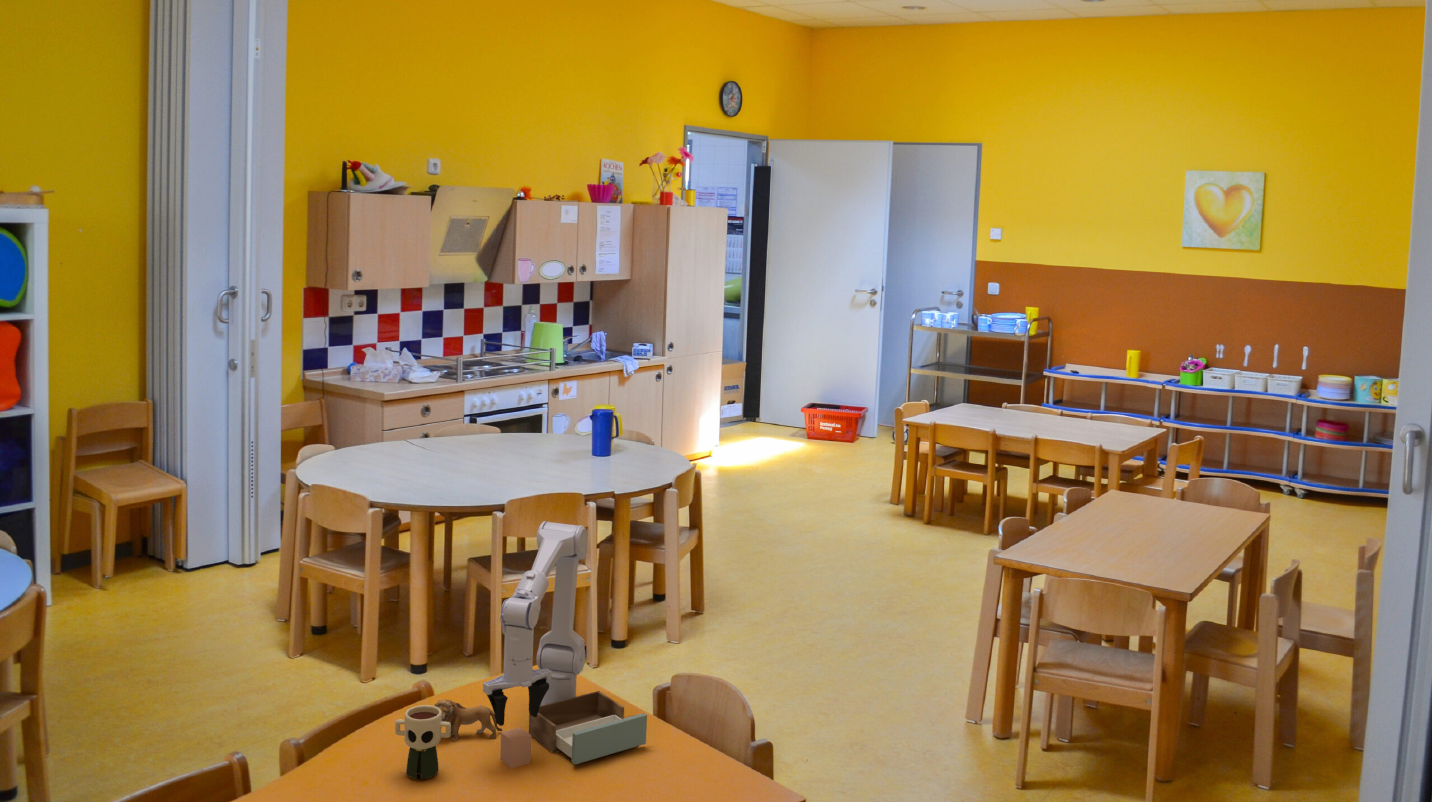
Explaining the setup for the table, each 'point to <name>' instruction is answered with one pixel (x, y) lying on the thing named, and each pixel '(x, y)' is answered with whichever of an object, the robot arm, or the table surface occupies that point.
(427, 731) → the character mug
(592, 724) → the green drawer
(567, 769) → the table surface
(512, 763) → the terracotta block
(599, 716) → the cubby
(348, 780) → the table surface
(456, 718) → the lion figurine
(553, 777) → the table surface
